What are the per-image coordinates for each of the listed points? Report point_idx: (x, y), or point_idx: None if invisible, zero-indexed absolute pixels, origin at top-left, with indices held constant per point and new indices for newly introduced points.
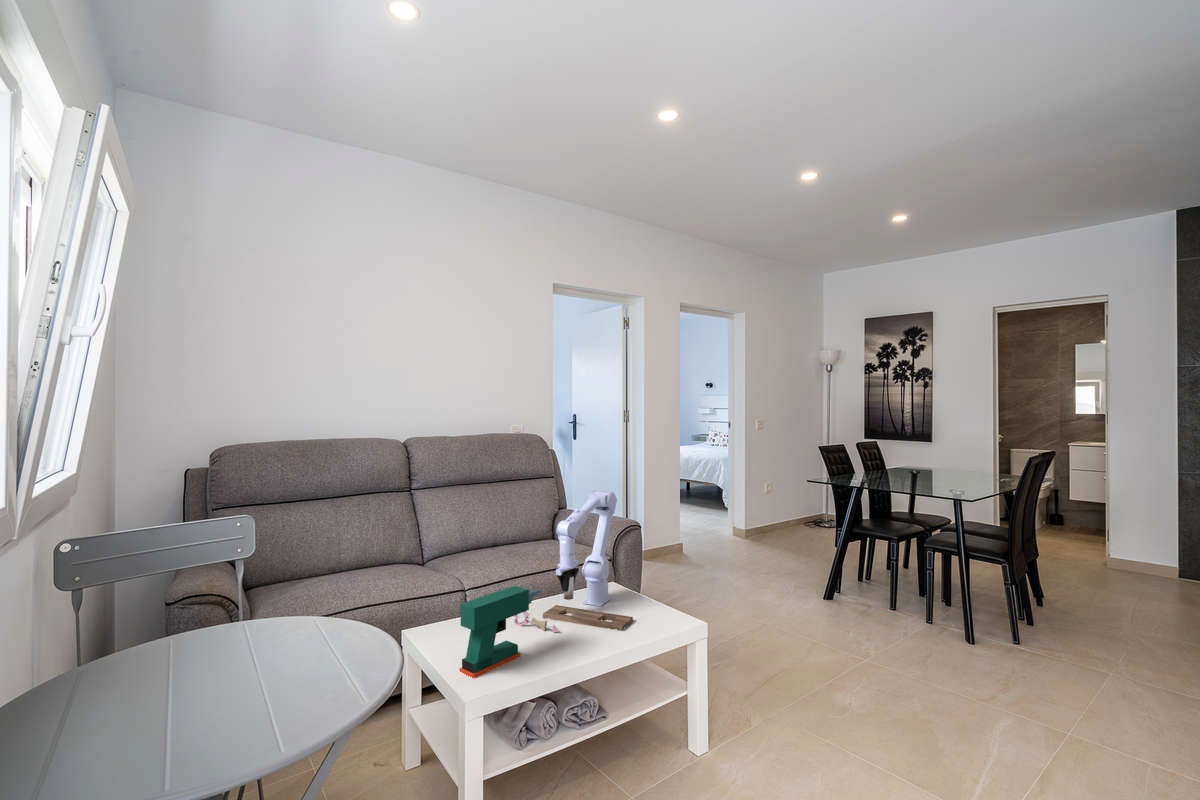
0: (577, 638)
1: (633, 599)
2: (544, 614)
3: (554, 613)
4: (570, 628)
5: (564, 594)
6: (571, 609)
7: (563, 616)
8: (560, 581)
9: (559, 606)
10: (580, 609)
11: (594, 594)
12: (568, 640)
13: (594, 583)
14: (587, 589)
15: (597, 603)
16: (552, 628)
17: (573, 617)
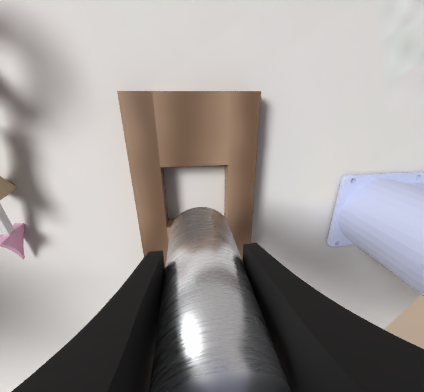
0: (39, 312)
1: (403, 290)
2: (119, 103)
3: (151, 150)
4: (94, 257)
5: (172, 238)
6: (232, 193)
7: (142, 206)
8: (84, 338)
9: (248, 121)
10: (246, 224)
11: (367, 243)
12: (4, 300)
13: (421, 281)
14: (404, 214)
15: (341, 231)
16: (3, 233)
17: (153, 245)
